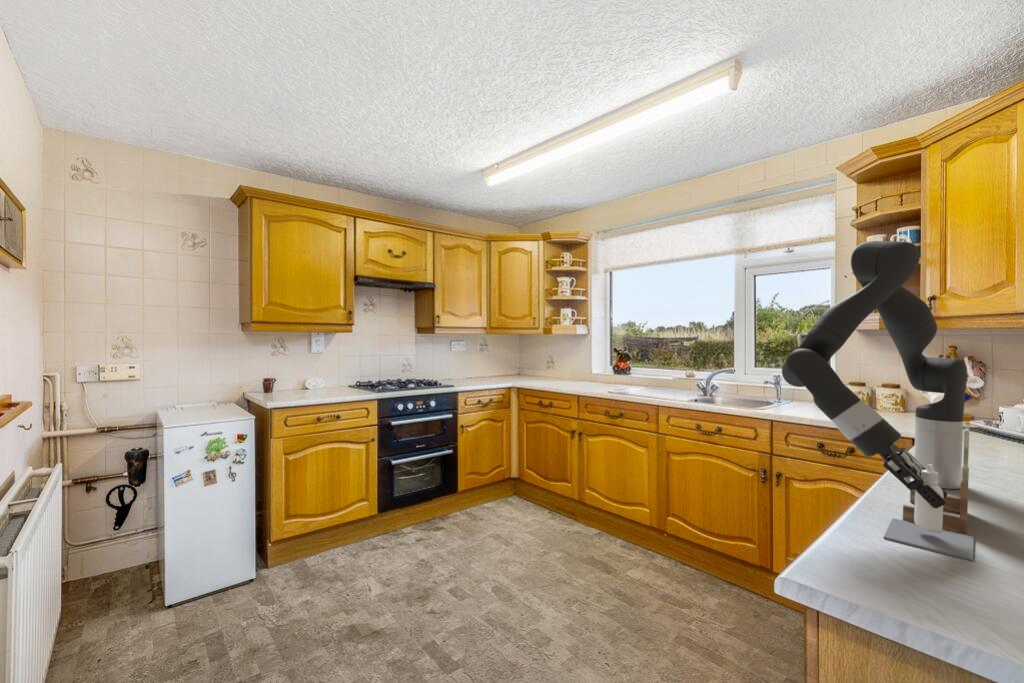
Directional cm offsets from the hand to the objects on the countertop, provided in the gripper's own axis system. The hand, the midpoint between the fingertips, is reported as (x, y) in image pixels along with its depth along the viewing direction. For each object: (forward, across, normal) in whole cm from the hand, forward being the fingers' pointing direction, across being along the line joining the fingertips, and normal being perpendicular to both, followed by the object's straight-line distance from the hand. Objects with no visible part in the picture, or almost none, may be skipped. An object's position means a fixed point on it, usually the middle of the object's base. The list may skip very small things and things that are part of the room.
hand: (941, 501), depth 87 cm
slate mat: (+4, 0, +6) cm, 8 cm away
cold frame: (+4, +16, +6) cm, 18 cm away
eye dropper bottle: (+3, 0, +5) cm, 6 cm away
